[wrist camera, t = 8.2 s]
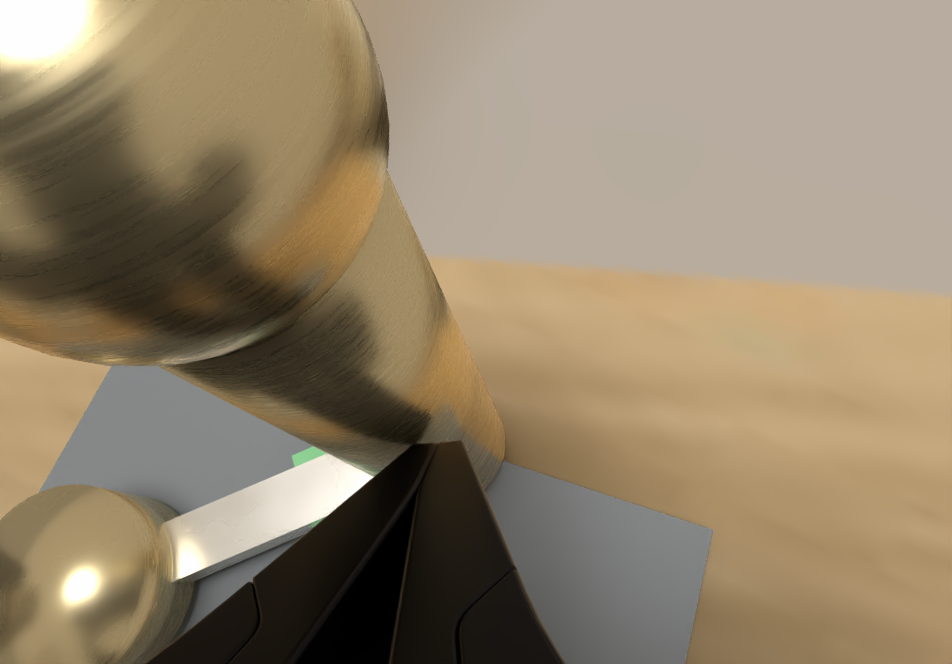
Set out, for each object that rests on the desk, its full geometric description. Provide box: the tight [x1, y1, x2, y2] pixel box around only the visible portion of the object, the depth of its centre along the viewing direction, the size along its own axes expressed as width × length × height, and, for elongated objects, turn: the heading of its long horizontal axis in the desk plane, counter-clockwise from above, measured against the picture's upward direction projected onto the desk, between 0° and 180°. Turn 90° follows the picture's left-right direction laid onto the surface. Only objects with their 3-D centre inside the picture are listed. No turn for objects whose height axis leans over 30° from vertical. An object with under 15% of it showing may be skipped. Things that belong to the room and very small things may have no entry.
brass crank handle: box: [0, 0, 505, 664], centre depth 9 cm, size 13×4×13 cm, turn 111°
